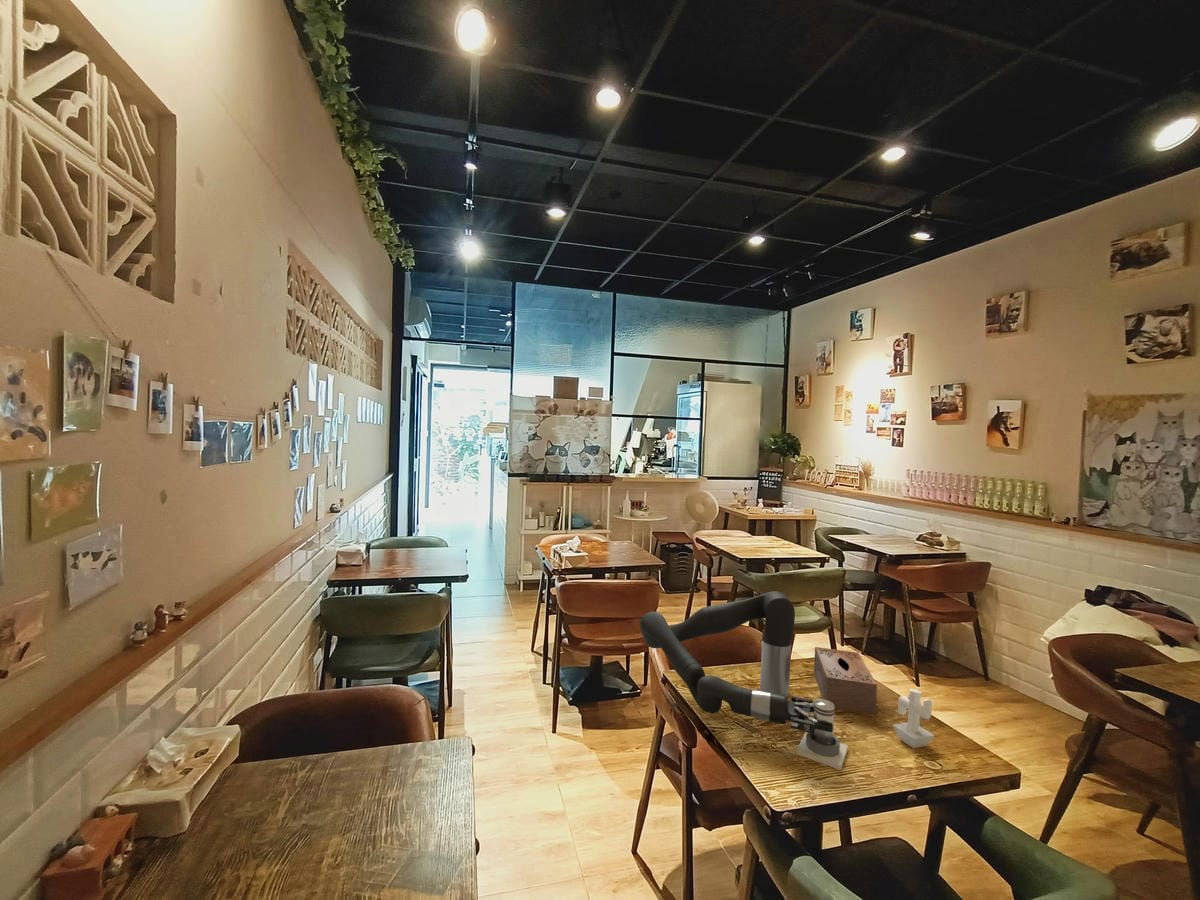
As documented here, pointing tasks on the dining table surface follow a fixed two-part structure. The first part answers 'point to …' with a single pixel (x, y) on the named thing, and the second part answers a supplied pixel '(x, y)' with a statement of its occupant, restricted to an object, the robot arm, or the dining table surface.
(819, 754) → the ring stand
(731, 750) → the dining table surface
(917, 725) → the figurine
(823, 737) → the piston
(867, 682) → the tissue box cover
